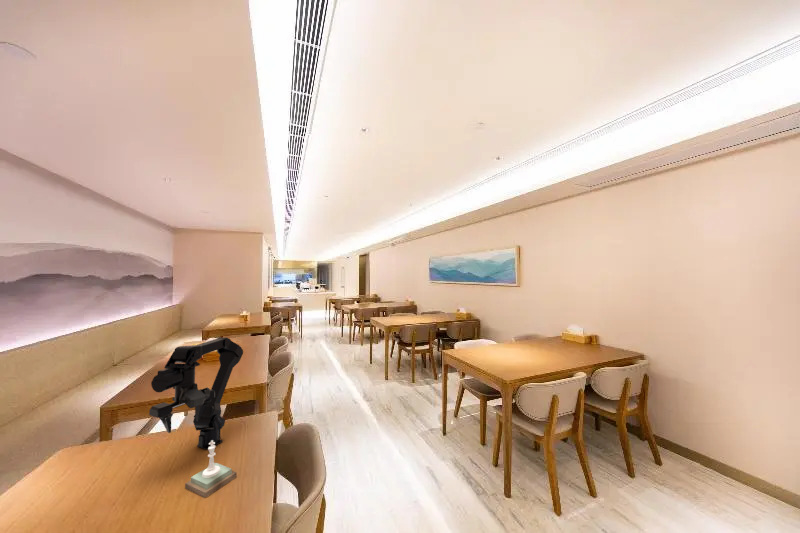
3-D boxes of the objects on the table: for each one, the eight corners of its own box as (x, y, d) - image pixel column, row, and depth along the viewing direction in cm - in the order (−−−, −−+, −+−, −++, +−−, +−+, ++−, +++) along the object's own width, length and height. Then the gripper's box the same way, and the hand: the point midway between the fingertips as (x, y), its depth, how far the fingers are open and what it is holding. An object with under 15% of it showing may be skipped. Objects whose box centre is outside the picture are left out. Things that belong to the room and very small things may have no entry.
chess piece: (215, 477, 91) (215, 444, 92) (198, 478, 91) (199, 445, 91) (223, 467, 96) (223, 436, 96) (207, 468, 96) (208, 437, 96)
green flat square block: (216, 469, 100) (217, 460, 100) (236, 477, 96) (236, 467, 96) (185, 488, 91) (185, 478, 91) (205, 497, 86) (205, 487, 87)
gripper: (168, 394, 92) (167, 445, 92) (224, 376, 109) (224, 419, 109) (149, 389, 97) (147, 437, 96) (206, 373, 114) (205, 414, 113)
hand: (183, 426), depth 103 cm, fingers open, 9 cm apart
